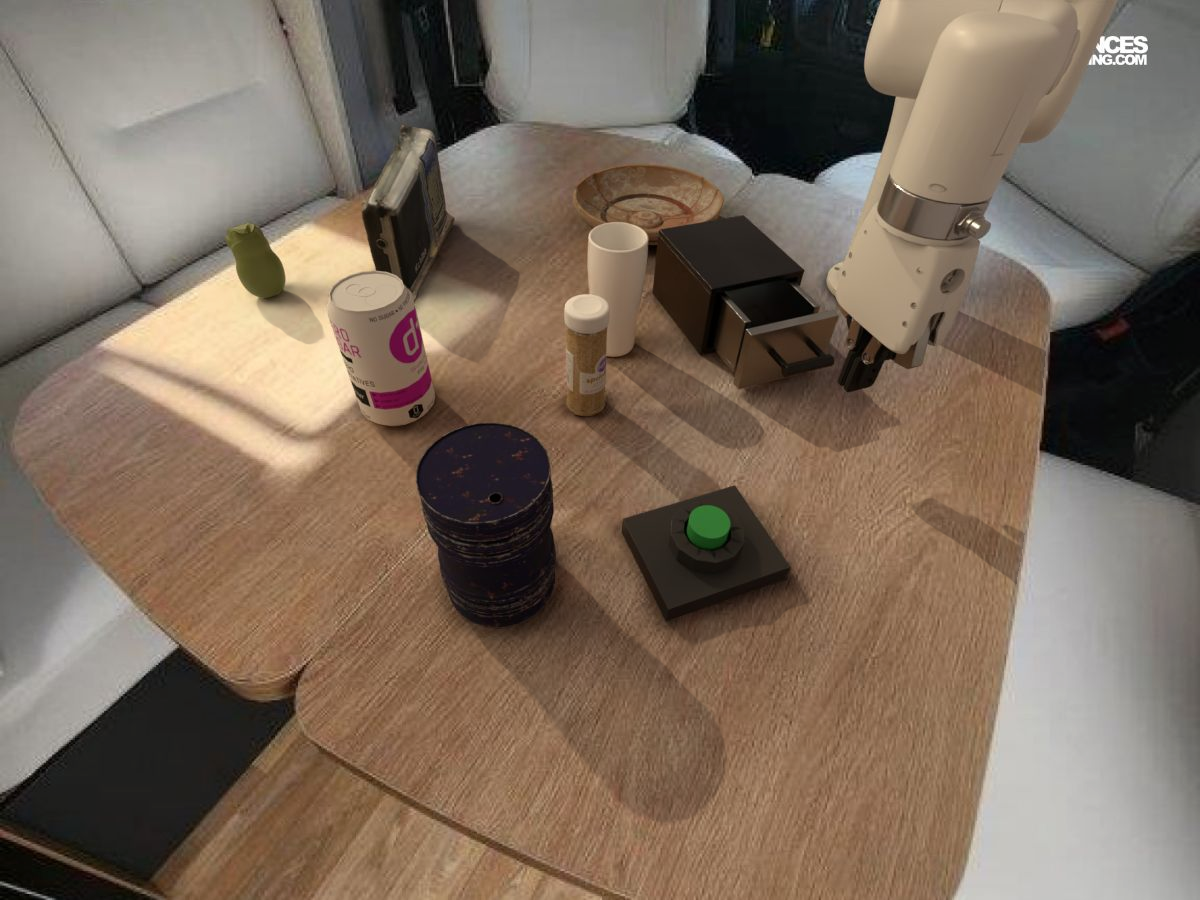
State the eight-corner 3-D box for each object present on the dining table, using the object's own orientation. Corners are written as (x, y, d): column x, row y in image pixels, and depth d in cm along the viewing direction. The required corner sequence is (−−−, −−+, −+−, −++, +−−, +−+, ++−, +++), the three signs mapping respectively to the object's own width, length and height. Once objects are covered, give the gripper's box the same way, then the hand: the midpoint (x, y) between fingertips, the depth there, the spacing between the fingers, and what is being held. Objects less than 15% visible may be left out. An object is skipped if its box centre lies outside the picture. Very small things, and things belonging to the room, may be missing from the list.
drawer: (841, 391, 73) (863, 337, 68) (757, 413, 70) (772, 359, 65) (761, 308, 85) (775, 255, 79) (686, 324, 82) (694, 271, 76)
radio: (411, 306, 84) (386, 198, 73) (351, 298, 85) (317, 190, 74) (468, 224, 100) (454, 125, 89) (416, 218, 101) (397, 119, 90)
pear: (256, 310, 83) (225, 240, 75) (241, 292, 85) (210, 223, 78) (298, 295, 85) (271, 226, 78) (282, 278, 88) (255, 210, 81)
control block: (731, 498, 63) (738, 472, 60) (785, 580, 57) (796, 555, 54) (621, 532, 60) (623, 506, 57) (665, 622, 54) (670, 598, 51)
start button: (715, 512, 57) (718, 500, 56) (734, 543, 55) (738, 531, 54) (679, 523, 56) (682, 511, 55) (698, 555, 54) (701, 543, 53)
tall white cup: (634, 366, 77) (644, 255, 66) (581, 358, 78) (581, 247, 67) (643, 334, 81) (653, 225, 70) (592, 326, 82) (594, 218, 71)
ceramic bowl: (625, 179, 113) (627, 150, 109) (743, 218, 104) (749, 189, 100) (544, 228, 100) (542, 198, 96) (670, 278, 91) (674, 247, 87)
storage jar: (434, 552, 58) (401, 441, 47) (535, 520, 61) (526, 407, 50) (462, 646, 52) (432, 543, 41) (573, 605, 55) (572, 499, 44)
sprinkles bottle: (598, 421, 70) (602, 322, 60) (560, 412, 71) (557, 313, 61) (610, 395, 73) (615, 297, 63) (573, 387, 74) (573, 288, 64)
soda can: (448, 390, 73) (426, 276, 62) (412, 437, 68) (379, 323, 57) (388, 374, 75) (355, 261, 64) (347, 419, 69) (303, 304, 58)
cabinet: (785, 335, 82) (805, 270, 75) (700, 355, 79) (712, 288, 72) (730, 277, 91) (743, 214, 84) (652, 293, 88) (658, 229, 81)
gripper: (1043, 244, 45) (936, 425, 59) (904, 162, 55) (839, 334, 68) (962, 261, 43) (871, 445, 57) (833, 173, 53) (780, 348, 66)
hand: (854, 384), depth 62 cm, fingers closed
